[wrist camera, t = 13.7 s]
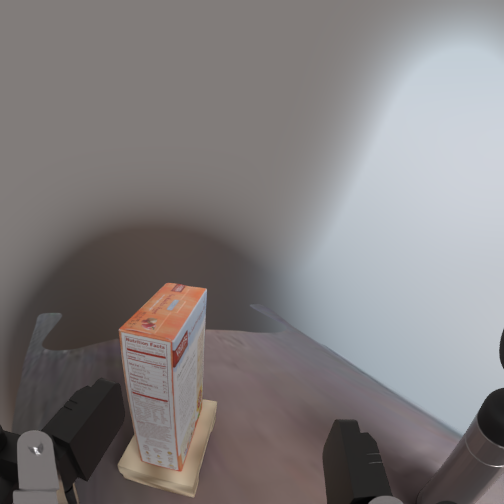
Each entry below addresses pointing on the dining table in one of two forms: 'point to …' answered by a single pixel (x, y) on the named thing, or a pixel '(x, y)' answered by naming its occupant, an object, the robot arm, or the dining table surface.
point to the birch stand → (169, 478)
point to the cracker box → (165, 372)
